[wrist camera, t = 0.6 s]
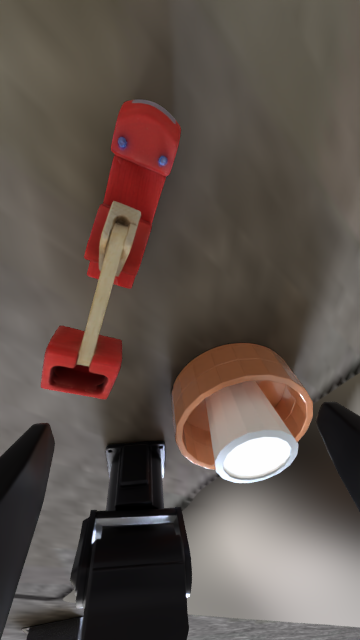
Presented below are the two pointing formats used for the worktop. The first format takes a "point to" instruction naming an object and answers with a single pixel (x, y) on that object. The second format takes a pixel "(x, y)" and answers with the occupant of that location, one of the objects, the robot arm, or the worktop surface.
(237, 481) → the shot glass
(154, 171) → the toy fire truck
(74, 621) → the black wifi router
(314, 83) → the worktop surface
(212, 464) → the bowl
